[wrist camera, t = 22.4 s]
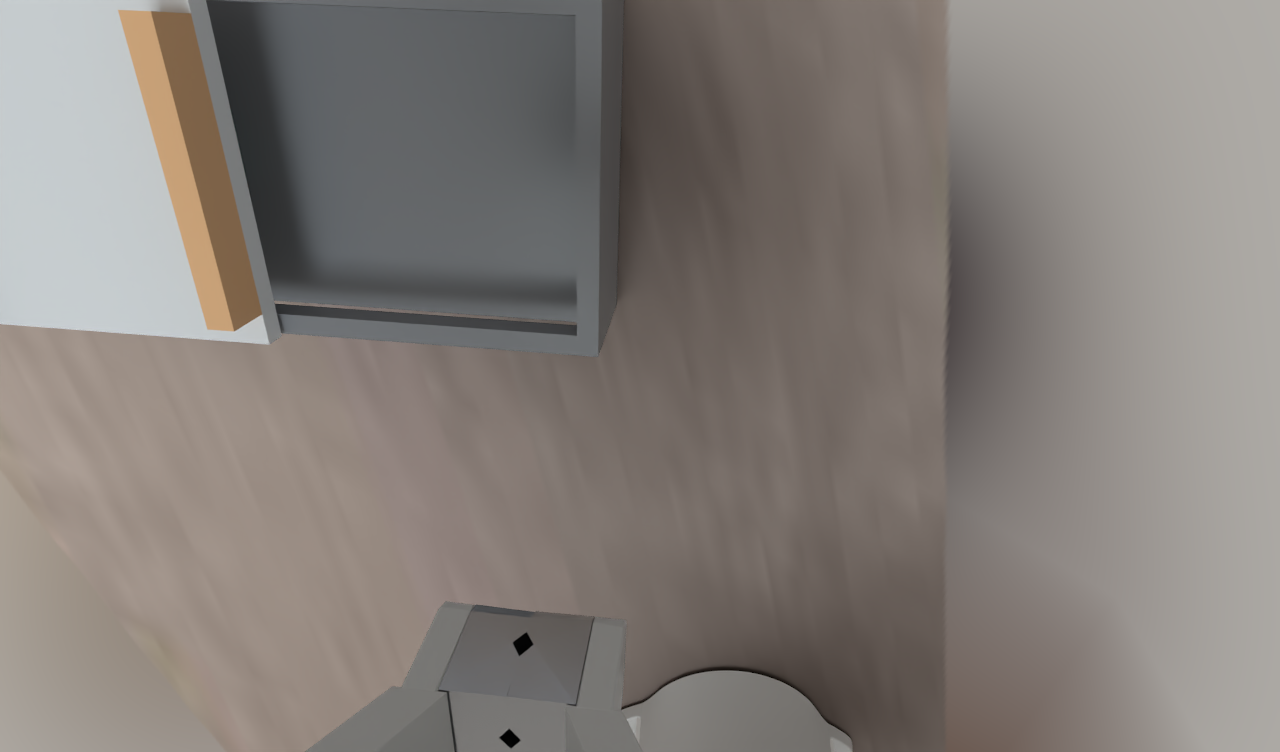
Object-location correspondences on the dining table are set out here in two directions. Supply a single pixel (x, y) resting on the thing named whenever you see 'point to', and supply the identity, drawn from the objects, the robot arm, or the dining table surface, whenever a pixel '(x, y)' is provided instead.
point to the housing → (432, 164)
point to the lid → (124, 175)
